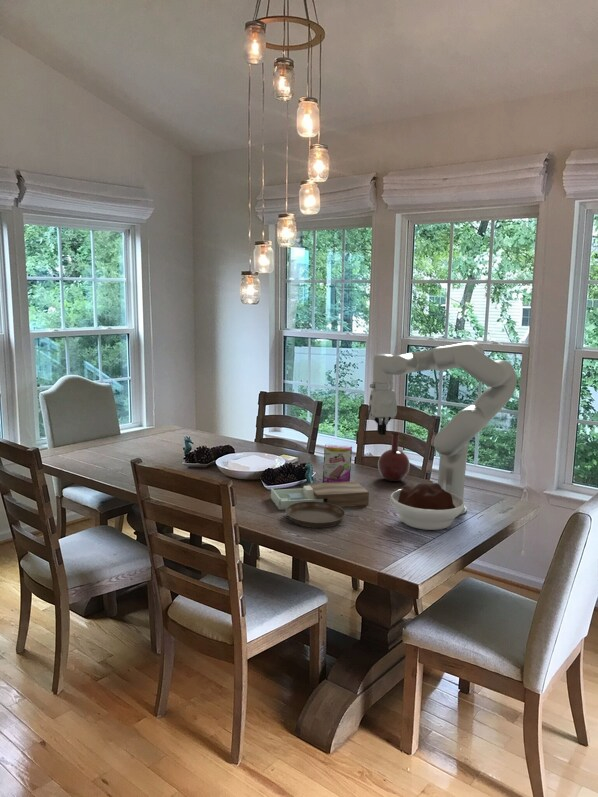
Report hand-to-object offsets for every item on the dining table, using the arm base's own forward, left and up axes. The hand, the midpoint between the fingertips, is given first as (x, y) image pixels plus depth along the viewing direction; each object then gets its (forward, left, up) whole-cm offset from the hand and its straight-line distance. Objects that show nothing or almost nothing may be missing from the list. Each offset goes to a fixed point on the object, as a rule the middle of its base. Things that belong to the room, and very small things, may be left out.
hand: (381, 434), depth 260 cm
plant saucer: (-21, +32, -25) cm, 45 cm away
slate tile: (-3, +34, -22) cm, 40 cm away
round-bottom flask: (+18, -14, -25) cm, 34 cm away
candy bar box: (+15, +12, -25) cm, 32 cm away
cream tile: (-3, +28, -21) cm, 35 cm away
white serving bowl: (-33, -4, -25) cm, 41 cm away
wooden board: (-3, +18, -25) cm, 31 cm away
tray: (-2, +34, -25) cm, 42 cm away
